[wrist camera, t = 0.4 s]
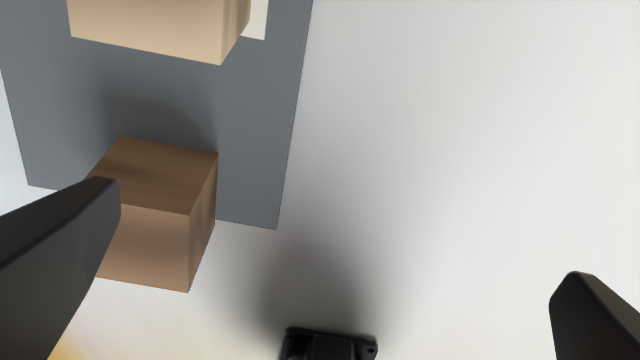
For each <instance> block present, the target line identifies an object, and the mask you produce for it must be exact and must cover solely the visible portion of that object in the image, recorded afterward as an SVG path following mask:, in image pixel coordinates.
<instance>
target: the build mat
mask: <svg viewBox="0 0 640 360" xmlns="http://www.w3.org/2000/svg"><path fill="white" fill-rule="evenodd" d="M312 4H313V0H251V10H250V21H249V23H248V24H247V26H246V27H245V29H244V30H243V32H242V33H241V35H240V36H239V38H238V39H237V41H236V42H235V44H234V45H233V47H232V49H231V50H230V52H229V53H228V55H227V56H226V58H225V59H224V61H223V62H222V64H221V65H216V64H210V63H205V62H200V61H195V60H190V59H185V58H180V57H175V56H169V55H164V54H159V53H154V52H149V51H144V50H139V49H134V48H128V47H123V46H118V45H113V44H108V43H103V42H98V41H92V40H87V39H82V38H77V37H72V36H71V30H70V23H69V16H68V9H67V2H66V0H0V70H1V74H2V78H3V82H4V86H5V91H6V95H7V99H8V103H9V107H10V111H11V115H12V119H13V124H14V128H15V132H16V136H17V140H18V144H19V148H20V153H21V157H22V161H23V165H24V169H25V173H26V177H27V182H28V185H30V186H35V187H41V188H46V189H52V190H57V191H59V190H62V189H64V188H66V187H68V186H71V185H73V184H75V183H78V182H80V181H82V180H83V179H84V178H85V177H86V176H87V174H88V173H89V172H90V171H91V170H92V169H93V167H94V166H95V165H96V164H97V163H98V161H99V160H100V159H101V158H102V157H103V156H104V154H105V153H106V152H107V151H108V150H109V148H110V147H111V146H112V145H113V144H114V143H115V141H116V140H117V139H118V138H119V137H120V135H124V136H129V137H134V138H140V139H145V140H150V141H156V142H161V143H166V144H172V145H177V146H182V147H188V148H193V149H198V150H204V151H209V152H215V153H219V157H218V175H217V193H216V210H215V219H217V220H223V221H228V222H234V223H239V224H245V225H250V226H256V227H261V228H267V229H273V230H276V227H277V222H278V216H279V209H280V203H281V197H282V191H283V185H284V178H285V172H286V166H287V160H288V153H289V147H290V141H291V135H292V129H293V122H294V116H295V110H296V104H297V97H298V91H299V85H300V79H301V73H302V66H303V60H304V54H305V48H306V41H307V35H308V29H309V23H310V17H311V10H312Z"/></svg>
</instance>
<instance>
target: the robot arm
mask: <svg viewBox="0 0 640 360" xmlns="http://www.w3.org/2000/svg"><path fill="white" fill-rule="evenodd" d="M120 219H121V198H120V185H119V182H118V180H116V179H115V178H110V177H105V176H100V175H94V176H92V177H89V178H87V179H85V180H82V181H80V182H78V183H75V184H73V185H71V186H68V187H66V188H64V189H62V190H59V191H57V192H55V193H52V194H50V195H48V196H45V197H43V198H41V199H38V200H36V201H34V202H32V203H29V204H27V205H25V206H22V207H20V208H18V209H15V210H13V211H11V212H8V213H6V214H4V215H2V216H0V360H47V359H48V357H49V356H50V354H51V352H52V351H53V349H54V347H55V346H56V344H57V342H58V341H59V339H60V337H61V336H62V334H63V332H64V331H65V329H66V327H67V326H68V324H69V323H70V321H71V319H72V318H73V316H74V314H75V313H76V311H77V309H78V308H79V306H80V304H81V303H82V301H83V299H84V298H85V296H86V294H87V292H88V290H89V288H90V286H91V284H92V282H93V280H94V278H95V276H96V274H97V271H98V269H99V267H100V265H101V263H102V260H103V258H104V256H105V254H106V252H107V249H108V247H109V245H110V243H111V241H112V238H113V236H114V234H115V232H116V230H117V227H118V225H119V222H120ZM549 314H550V320H551V327H552V333H553V339H554V345H555V352H556V358H557V360H640V313H639V312H638V311H637V310H636V309H634V308H633V307H632V306H631V305H630V304H628V303H627V302H626V301H625V300H623V299H622V298H621V297H620V296H619V295H617V294H616V293H615V292H614V291H613V290H611V289H610V288H609V287H608V286H607V285H605V284H604V283H603V282H602V281H601V280H599V279H598V278H597V277H596V276H594V275H592V274H588V273H583V272H578V271H571V272H570V273H568V274H567V275H566V276H565V278H564V279H563V281H562V282H561V283H560V285H559V286H558V288H557V289H556V290H555V292H554V293H553V295H552V296H551V298H550V301H549ZM377 352H378V345H377V343H375V342H373V341H367V340H362V339H356V338H350V337H344V336H338V335H333V334H327V333H321V332H315V331H309V330H304V329H298V328H288V329H286V331H285V336H284V341H283V345H282V350H281V355H280V359H279V360H374V359H375V357H376V355H377Z"/></svg>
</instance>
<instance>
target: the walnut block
mask: <svg viewBox="0 0 640 360" xmlns="http://www.w3.org/2000/svg"><path fill="white" fill-rule="evenodd" d="M218 157H219V153H215V152H209V151H204V150H198V149H193V148H188V147H182V146H177V145H172V144H166V143H161V142H156V141H150V140H145V139H140V138H134V137H129V136H124V135H120V137H119V138H118V139H117V140H116V141H115V143H114V144H113V145H112V146H111V147H110V148H109V150H108V151H107V152H106V153H105V154H104V156H103V157H102V158H101V159H100V160H99V161H98V163H97V164H96V165H95V166H94V167H93V169H92V170H91V171H90V172H89V173H88V174H87V176H86V177H85V178H84V179H83V180H85V179H87V178H89V177H92V176H94V175H100V176H105V177H110V178H115V179H116V180H118V182H119V185H120V198H121V219H120V222H119V225H118V227H117V230H116V232H115V234H114V236H113V238H112V241H111V243H110V245H109V247H108V249H107V252H106V254H105V256H104V258H103V260H102V263H101V265H100V267H99V269H98V271H97V274H96V276H95V277H98V278H104V279H110V280H115V281H121V282H127V283H133V284H138V285H144V286H150V287H156V288H161V289H167V290H173V291H179V292H184V293H188V292H189V290H190V287H191V285H192V282H193V280H194V277H195V274H196V272H197V269H198V267H199V264H200V262H201V259H202V257H203V254H204V251H205V249H206V246H207V244H208V241H209V239H210V236H211V234H212V231H213V229H214V226H215V210H216V193H217V175H218Z"/></svg>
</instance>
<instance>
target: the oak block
mask: <svg viewBox="0 0 640 360" xmlns="http://www.w3.org/2000/svg"><path fill="white" fill-rule="evenodd" d="M66 2H67V9H68V16H69V23H70V30H71V36H72V37H77V38H82V39H87V40H92V41H98V42H103V43H108V44H113V45H118V46H123V47H128V48H134V49H139V50H144V51H149V52H154V53H159V54H164V55H169V56H175V57H180V58H185V59H190V60H195V61H200V62H205V63H210V64H216V65H221V64H222V62H223V61H224V59H225V58H226V56H227V55H228V53H229V52H230V50H231V49H232V47H233V45H234V44H235V42H236V41H237V39H238V38H239V36H240V35H241V33H242V32H243V30H244V29H245V27H246V26H247V24H248V23H249V21H250V10H251V0H66Z"/></svg>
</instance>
